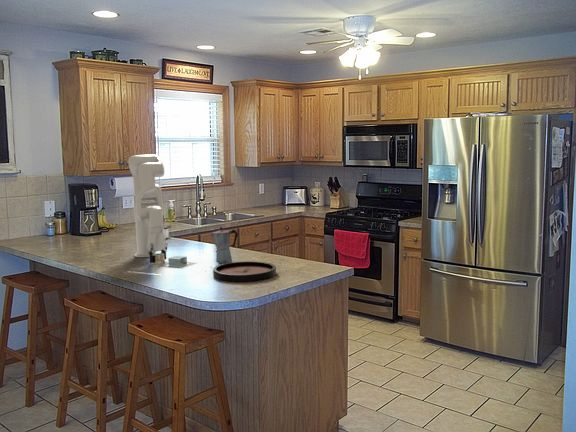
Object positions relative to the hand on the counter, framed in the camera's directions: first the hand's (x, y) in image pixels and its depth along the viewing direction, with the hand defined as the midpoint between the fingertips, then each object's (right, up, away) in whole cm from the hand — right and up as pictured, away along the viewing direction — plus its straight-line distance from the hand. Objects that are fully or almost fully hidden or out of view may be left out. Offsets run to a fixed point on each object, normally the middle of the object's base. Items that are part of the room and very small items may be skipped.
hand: (158, 261), depth 307 cm
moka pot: (+36, -1, +4) cm, 36 cm away
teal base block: (+12, -2, -5) cm, 13 cm away
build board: (+12, -3, -5) cm, 13 cm away
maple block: (0, -2, +1) cm, 2 cm away
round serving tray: (+50, -5, -27) cm, 57 cm away
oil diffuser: (-18, +8, +92) cm, 94 cm away
